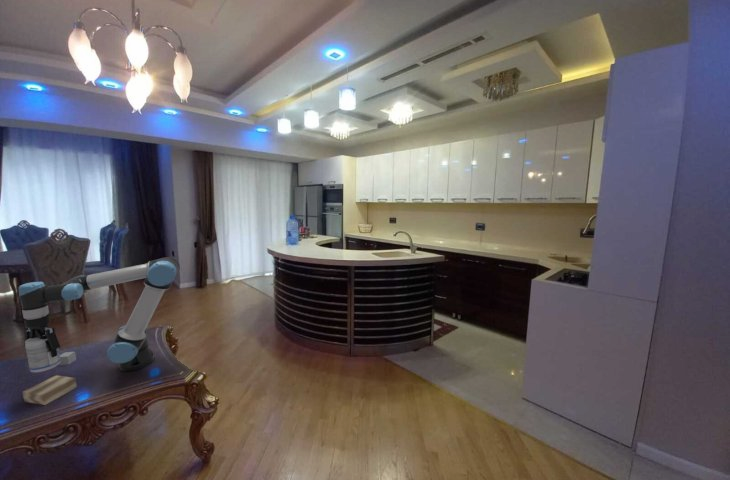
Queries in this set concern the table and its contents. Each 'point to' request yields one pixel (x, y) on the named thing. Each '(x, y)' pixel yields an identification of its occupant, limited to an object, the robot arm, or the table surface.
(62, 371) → the table surface
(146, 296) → the robot arm
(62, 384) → the oak block
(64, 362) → the grey cube
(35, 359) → the supplement tub
